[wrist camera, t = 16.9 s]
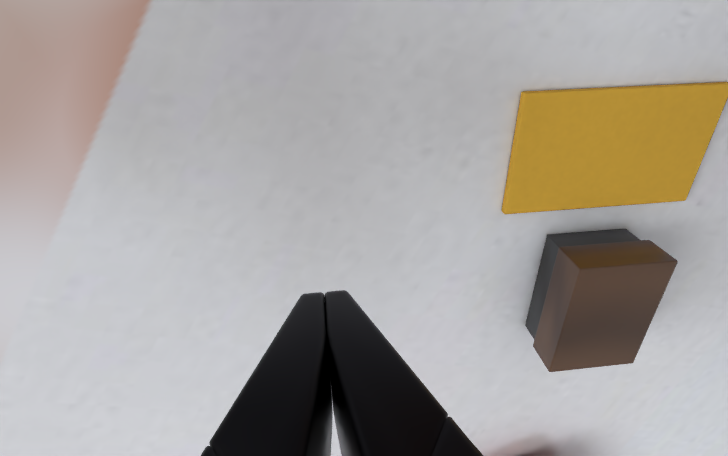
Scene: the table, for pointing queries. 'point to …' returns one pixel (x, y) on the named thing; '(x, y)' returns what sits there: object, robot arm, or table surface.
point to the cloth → (610, 145)
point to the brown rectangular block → (595, 298)
